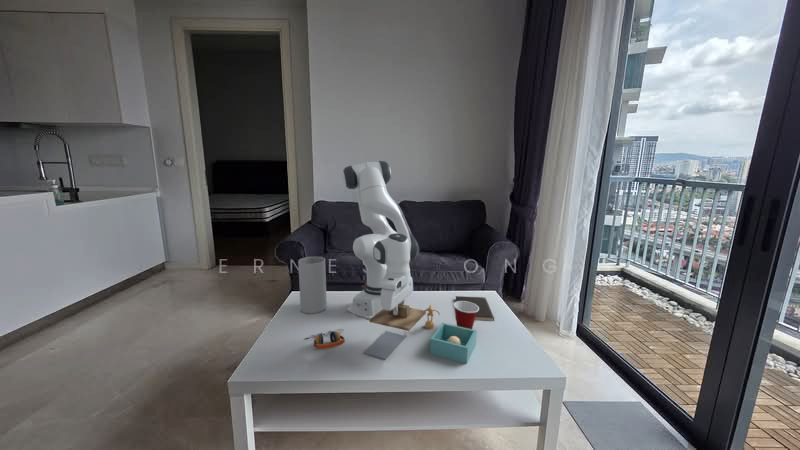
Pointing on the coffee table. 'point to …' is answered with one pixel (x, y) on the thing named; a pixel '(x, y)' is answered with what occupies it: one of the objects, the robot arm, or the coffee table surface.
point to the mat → (384, 345)
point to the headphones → (334, 338)
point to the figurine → (429, 323)
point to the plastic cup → (465, 313)
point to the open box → (453, 350)
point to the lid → (399, 317)
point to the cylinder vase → (312, 284)
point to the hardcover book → (483, 306)
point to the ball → (454, 340)
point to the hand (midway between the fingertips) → (398, 312)
